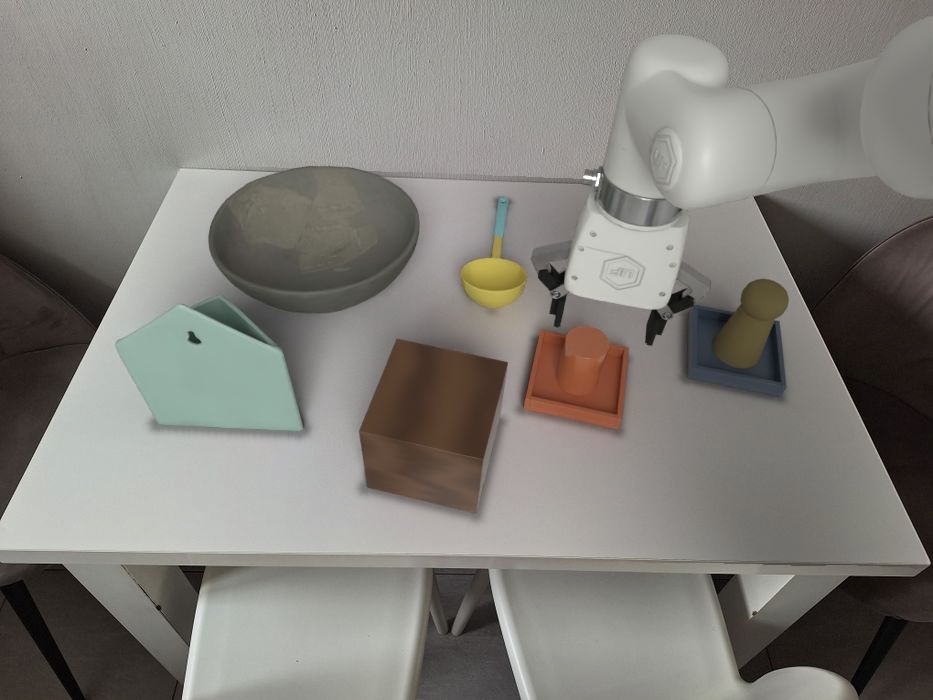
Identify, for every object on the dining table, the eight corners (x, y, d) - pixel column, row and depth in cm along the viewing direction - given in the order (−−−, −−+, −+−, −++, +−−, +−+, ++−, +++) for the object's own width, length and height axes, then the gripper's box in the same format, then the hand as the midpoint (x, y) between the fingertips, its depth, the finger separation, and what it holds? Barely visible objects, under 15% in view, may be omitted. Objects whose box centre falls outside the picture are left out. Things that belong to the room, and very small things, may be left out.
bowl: (204, 348, 81) (181, 291, 73) (247, 213, 98) (231, 155, 90) (417, 352, 82) (416, 296, 74) (422, 218, 99) (422, 161, 91)
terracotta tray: (625, 358, 83) (629, 347, 81) (617, 430, 76) (622, 419, 74) (538, 340, 84) (540, 329, 83) (523, 409, 77) (525, 398, 75)
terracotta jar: (599, 368, 81) (611, 330, 75) (595, 399, 78) (607, 362, 72) (559, 359, 81) (568, 321, 76) (553, 390, 78) (562, 353, 73)
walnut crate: (499, 421, 76) (508, 361, 67) (476, 513, 68) (483, 460, 60) (400, 399, 77) (396, 338, 69) (366, 487, 70) (358, 431, 61)
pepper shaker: (765, 345, 85) (803, 284, 76) (752, 376, 81) (790, 315, 73) (720, 325, 86) (752, 264, 78) (705, 354, 83) (737, 293, 75)
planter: (315, 376, 79) (288, 252, 64) (303, 431, 74) (270, 311, 59) (178, 369, 78) (119, 243, 63) (157, 425, 73) (86, 302, 58)
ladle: (455, 318, 85) (456, 279, 81) (475, 227, 106) (476, 193, 102) (523, 324, 84) (527, 285, 81) (529, 231, 105) (532, 197, 102)
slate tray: (773, 331, 87) (779, 320, 85) (779, 397, 80) (786, 387, 78) (688, 314, 88) (693, 304, 87) (687, 378, 81) (692, 367, 80)
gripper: (536, 199, 55) (516, 336, 68) (746, 235, 53) (685, 369, 66) (549, 152, 60) (528, 288, 73) (742, 183, 58) (686, 318, 71)
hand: (603, 326), depth 69 cm, fingers open, 9 cm apart
